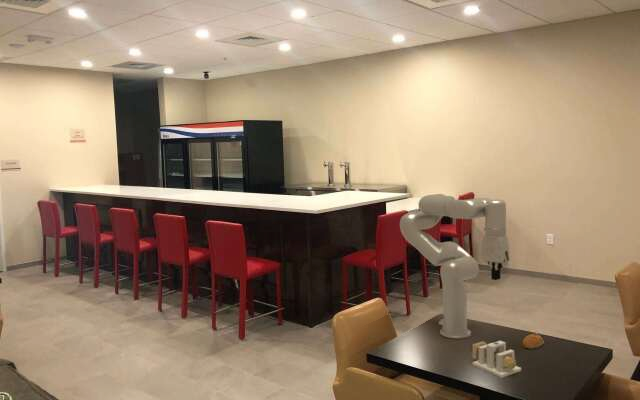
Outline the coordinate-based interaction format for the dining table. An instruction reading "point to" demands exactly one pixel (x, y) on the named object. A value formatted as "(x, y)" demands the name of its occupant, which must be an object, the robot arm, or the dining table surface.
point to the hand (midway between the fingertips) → (495, 279)
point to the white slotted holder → (495, 367)
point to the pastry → (532, 341)
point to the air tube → (507, 360)
